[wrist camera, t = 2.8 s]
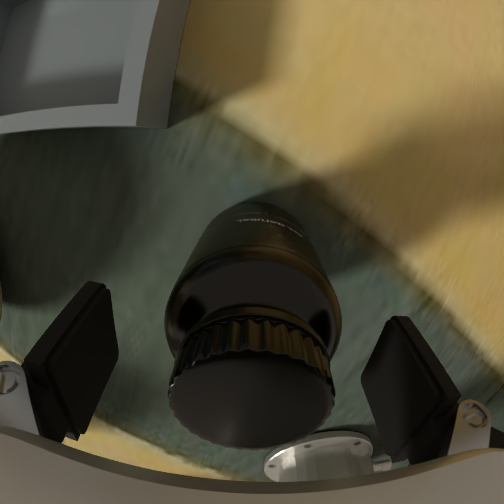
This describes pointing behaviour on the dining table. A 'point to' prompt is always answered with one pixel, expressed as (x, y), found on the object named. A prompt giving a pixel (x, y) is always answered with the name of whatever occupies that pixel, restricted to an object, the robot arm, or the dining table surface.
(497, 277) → the dining table surface
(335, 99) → the dining table surface
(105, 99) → the tote
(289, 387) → the supplement bottle
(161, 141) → the dining table surface
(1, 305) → the cantaloupe
